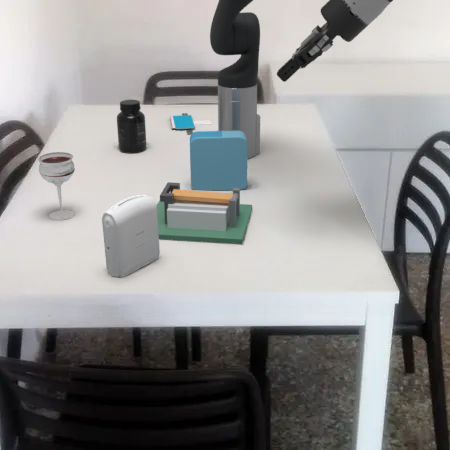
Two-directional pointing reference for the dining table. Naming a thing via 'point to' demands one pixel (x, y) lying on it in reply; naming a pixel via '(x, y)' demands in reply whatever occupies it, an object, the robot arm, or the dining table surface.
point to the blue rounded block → (218, 160)
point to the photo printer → (130, 234)
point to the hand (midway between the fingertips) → (280, 77)
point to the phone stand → (186, 123)
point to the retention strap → (204, 196)
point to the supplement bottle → (131, 127)
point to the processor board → (204, 234)
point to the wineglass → (57, 176)
